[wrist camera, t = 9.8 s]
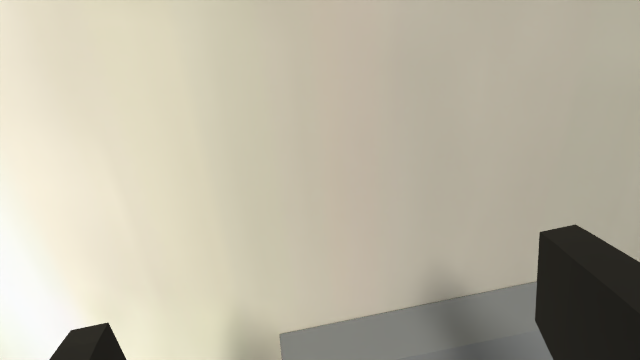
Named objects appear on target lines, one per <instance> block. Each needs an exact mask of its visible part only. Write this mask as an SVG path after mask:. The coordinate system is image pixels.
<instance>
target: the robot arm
mask: <svg viewBox="0 0 640 360" xmlns="http://www.w3.org/2000/svg"><path fill="white" fill-rule="evenodd" d="M535 322H536V324H537V326H538V328H539V330H540V333H541V335H542V337H543V339H544V341H545V343H546V346H547V348H548V350H549V352H550V354H551V356H552V358H553V360H640V262H638V261H637V260H635V259H633V258H631V257H630V256H628V255H626V254H625V253H623V252H621V251H620V250H618V249H616V248H615V247H613V246H611V245H610V244H608V243H606V242H605V241H603V240H601V239H600V238H598V237H596V236H595V235H593V234H591V233H589V232H588V231H586V230H584V229H582V228H581V227H579V226H577V225H572V226H567V227H562V228H557V229H553V230H548V231H543V232H540V238H539V255H538V273H537V291H536V309H535ZM50 360H126V358H125V356H124V354H123V352H122V350H121V348H120V346H119V344H118V341H117V339H116V337H115V335H114V333H113V331H112V329H111V327H110V325H109V323H104V324H99V325H94V326H90V327H85V328H80V329H75V330H71V331H70V332H69V334H68V335H67V336H66V338H65V339H64V340H63V342H62V343H61V344H60V346H59V347H58V349H57V350H56V351H55V353H54V354H53V355H52V357H51V358H50Z"/></svg>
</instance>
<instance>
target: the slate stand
mask: <svg viewBox="0 0 640 360" xmlns="http://www.w3.org/2000/svg"><path fill="white" fill-rule="evenodd" d="M536 291H537V282H533V283H528V284H523V285H518V286H513V287H508V288H503V289H498V290H494V291H489V292H484V293H479V294H474V295H469V296H464V297H459V298H454V299H450V300H445V301H440V302H435V303H430V304H425V305H420V306H415V307H411V308H406V309H401V310H396V311H391V312H386V313H381V314H376V315H371V316H367V317H362V318H357V319H352V320H347V321H342V322H337V323H332V324H328V325H323V326H318V327H313V328H308V329H303V330H298V331H293V332H288V333H284V334H280V345H281V355H282V360H553V358H552V356H551V354H550V352H549V350H548V348H547V346H546V343H545V341H544V339H543V337H542V335H541V333H540V330H539V328H538V326H537V324H536V322H535V309H536Z"/></svg>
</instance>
